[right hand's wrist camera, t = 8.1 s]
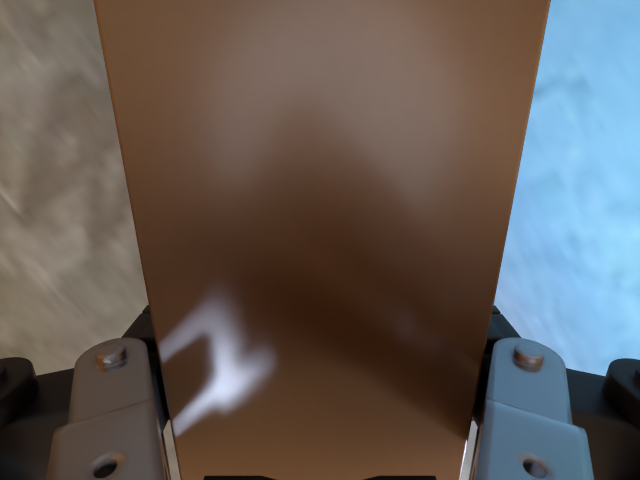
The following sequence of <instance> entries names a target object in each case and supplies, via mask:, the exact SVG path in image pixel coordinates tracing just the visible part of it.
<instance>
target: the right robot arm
mask: <svg viewBox="0 0 640 480" xmlns="http://www.w3.org/2000/svg"><path fill="white" fill-rule="evenodd" d="M168 420H170V417H169V412H168V406H167V401H166V395H165V390H164V384H163V379H162V373H161V368H160V362H159V357H158V351H157V346H156V340H155V335H154V329H153V324H152V318H151V313H150V307H149V305H147V306H146V308H145V309H144V310H143V311H142V314H140V315H139V316H138V318H137V319H136V320H135V321H134V322H133V324H132V325H131V326H130V327H129V329H128V330H127V331H126V332H125V334H124V335H123V336H122V337H121V338H117V339H112V340H108V341H105V342H102V343H100V344H98V345H95V346H94V347H92V348H90V349H89V350H87V351H86V352H84V353H83V354H82V355H81V356H80V357H79V358H78V360H77V361H76V363H75V367H74V368H72V369H68V370H63V371H58V372H53V373H48V374H43V375H38V376H36V374H35V371H34V368H33V365H32V363H31V361H29V360H28V359H25V358H20V357H12V358H4V359H0V480H171V475H170V469H169V463H168V457H167V450H166V444H165V438H164V433H163V430H164V428H165V426H166V424H167V421H168ZM472 421H475V422H476V425H477V427H478V428H477V434H476V439H475V445H474V451H473V457H472V463H471V469H470V475H469V480H640V360H637V359H628V358H626V359H617V360H614V361H612V362H611V363H610V365H609V368H608V371H607V374H606V376H601V375H596V374H591V373H586V372H581V371H576V370H572V369H567V368H566V367H565V363H564V361H563V360H562V358H561V357H560V356H559V355H558V354H557V353H556V352H554V351H553V350H552V349H550V348H548V347H546V346H545V345H542V344H540V343H538V342H535V341H532V340H528V339H523V338H521V337H520V336H519V334H518V333H517V332H516V331H515V329H514V328H513V327H512V326H511V325H510V323H509V322H508V321H507V320H506V318H505V317H504V316H503V315H502V314H500V311H499V310H498V309H497V307H496V306H494V305H493V310H492V315H491V320H490V325H489V331H488V336H487V341H486V347H485V352H484V357H483V363H482V368H481V373H480V379H479V384H478V389H477V394H476V400H475V405H474V410H473V416H472ZM203 480H276V479H272V478H269V477H265V476H204V479H203ZM364 480H437V479H436V476H375V477H371V478H368V479H364Z"/></svg>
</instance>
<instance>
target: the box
mask: <svg viewBox="0 0 640 480" xmlns="http://www.w3.org/2000/svg"><path fill="white" fill-rule="evenodd" d="M550 2H551V0H94V5H95V11H96V16H97V22H98V27H99V33H100V38H101V44H102V49H103V55H104V60H105V66H106V71H107V77H108V82H109V88H110V93H111V99H112V104H113V110H114V115H115V121H116V126H117V132H118V137H119V143H120V148H121V154H122V159H123V165H124V170H125V176H126V181H127V187H128V192H129V198H130V203H131V209H132V214H133V220H134V225H135V231H136V236H137V242H138V247H139V252H140V258H141V263H142V269H143V274H144V280H145V285H146V291H147V296H148V302H149V307H150V313H151V318H152V324H153V329H154V335H155V340H156V346H157V351H158V357H159V362H160V368H161V373H162V379H163V384H164V390H165V395H166V401H167V406H168V412H169V417H170V423H171V428H172V434H173V439H174V445H175V450H176V456H177V461H178V467H179V472H180V478H181V480H203V479H204V476H265V477H269V478H272V479H276V480H364V479H368V478H371V477H375V476H436V479H437V480H460V479H461V474H462V469H463V464H464V458H465V453H466V448H467V442H468V437H469V432H470V426H471V421H472V416H473V410H474V405H475V400H476V394H477V389H478V384H479V379H480V373H481V368H482V363H483V357H484V352H485V347H486V341H487V336H488V331H489V325H490V320H491V315H492V310H493V304H494V299H495V294H496V288H497V283H498V278H499V272H500V267H501V262H502V256H503V251H504V246H505V241H506V235H507V230H508V225H509V219H510V214H511V209H512V203H513V198H514V193H515V187H516V182H517V177H518V172H519V166H520V161H521V156H522V150H523V145H524V140H525V134H526V129H527V124H528V118H529V113H530V108H531V103H532V97H533V92H534V87H535V81H536V76H537V71H538V65H539V60H540V55H541V49H542V44H543V39H544V34H545V28H546V23H547V18H548V12H549V7H550Z"/></svg>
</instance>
